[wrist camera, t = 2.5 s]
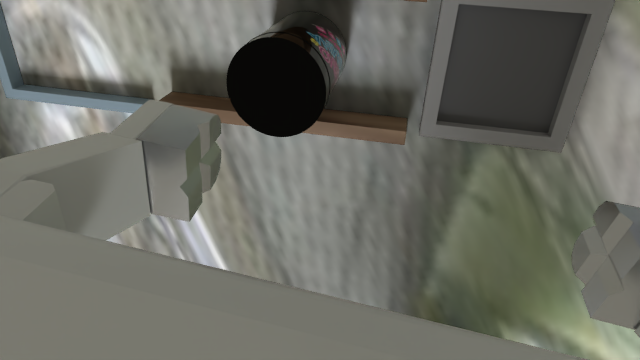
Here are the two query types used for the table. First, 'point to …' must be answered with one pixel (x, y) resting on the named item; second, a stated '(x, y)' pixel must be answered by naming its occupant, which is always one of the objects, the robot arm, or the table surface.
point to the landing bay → (6, 68)
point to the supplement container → (287, 74)
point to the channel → (326, 124)
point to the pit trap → (511, 70)
